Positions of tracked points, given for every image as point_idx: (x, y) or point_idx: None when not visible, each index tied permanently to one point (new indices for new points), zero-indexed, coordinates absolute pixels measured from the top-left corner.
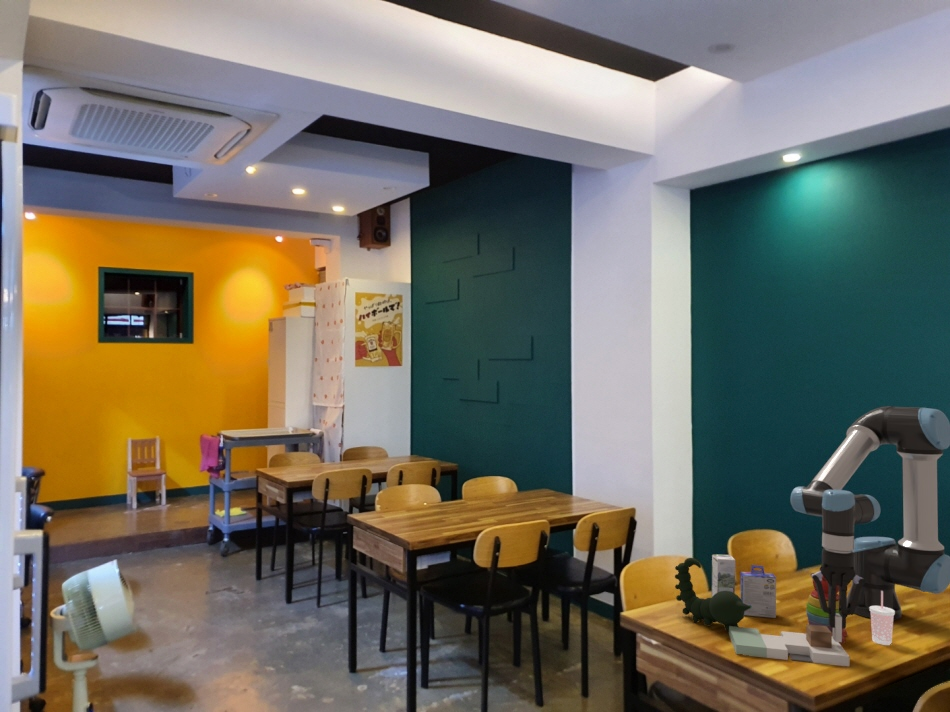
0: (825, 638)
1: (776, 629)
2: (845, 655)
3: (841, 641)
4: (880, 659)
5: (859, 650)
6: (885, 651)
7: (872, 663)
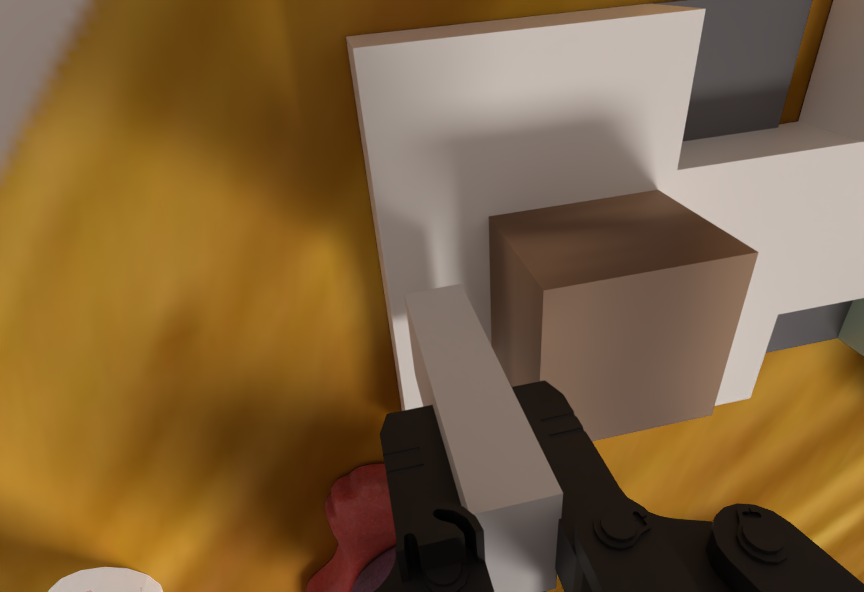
0: (577, 245)
1: (665, 490)
2: (390, 67)
3: (407, 297)
4: (84, 329)
5: (243, 422)
6: (67, 483)
7: (141, 213)
